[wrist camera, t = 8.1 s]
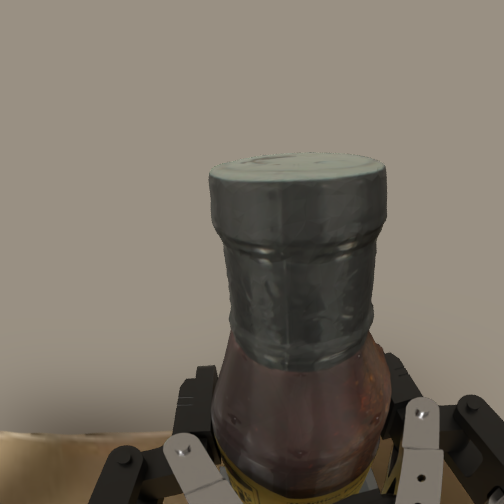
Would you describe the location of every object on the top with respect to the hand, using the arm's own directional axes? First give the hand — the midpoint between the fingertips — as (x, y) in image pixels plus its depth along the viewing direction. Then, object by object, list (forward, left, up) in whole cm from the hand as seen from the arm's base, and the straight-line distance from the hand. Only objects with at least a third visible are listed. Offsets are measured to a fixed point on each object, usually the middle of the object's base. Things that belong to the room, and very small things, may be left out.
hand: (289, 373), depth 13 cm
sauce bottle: (0, -2, -11) cm, 11 cm away
